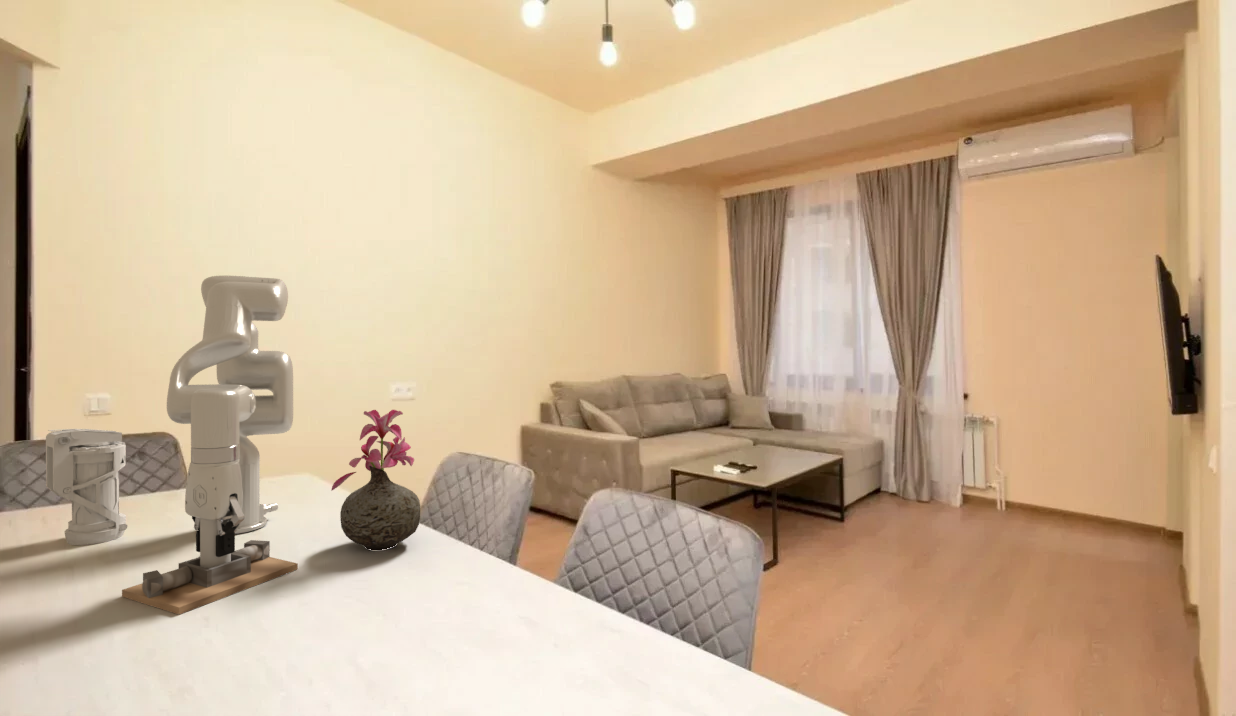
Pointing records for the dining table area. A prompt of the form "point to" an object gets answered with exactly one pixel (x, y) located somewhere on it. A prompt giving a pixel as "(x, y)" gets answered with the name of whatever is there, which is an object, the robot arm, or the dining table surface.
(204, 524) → the beverage can
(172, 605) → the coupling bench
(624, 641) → the dining table surface
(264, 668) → the dining table surface
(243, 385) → the robot arm
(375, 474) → the vase
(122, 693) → the dining table surface
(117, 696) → the dining table surface
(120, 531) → the lantern
